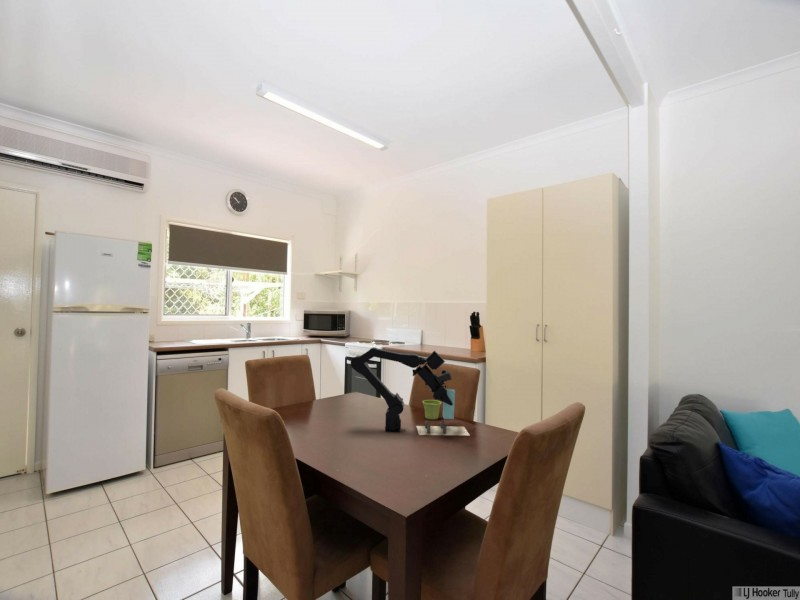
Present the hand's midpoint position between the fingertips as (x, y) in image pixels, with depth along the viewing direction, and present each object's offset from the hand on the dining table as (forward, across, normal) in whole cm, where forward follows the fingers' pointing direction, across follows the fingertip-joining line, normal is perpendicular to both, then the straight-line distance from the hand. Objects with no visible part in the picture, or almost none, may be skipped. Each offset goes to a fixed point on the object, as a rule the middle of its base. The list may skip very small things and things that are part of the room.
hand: (451, 403), depth 166 cm
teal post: (+3, 0, +5) cm, 6 cm away
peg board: (+7, 0, +12) cm, 14 cm away
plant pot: (+4, +19, +15) cm, 25 cm away
